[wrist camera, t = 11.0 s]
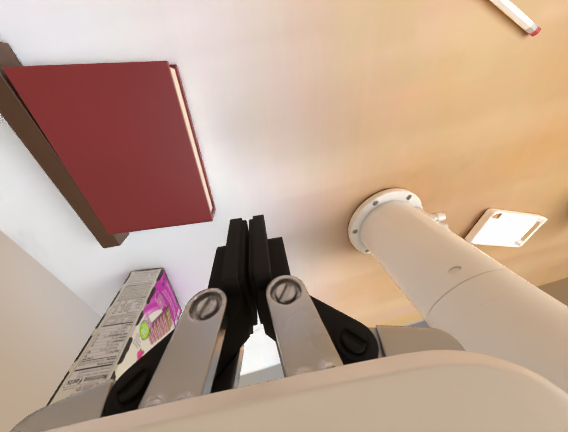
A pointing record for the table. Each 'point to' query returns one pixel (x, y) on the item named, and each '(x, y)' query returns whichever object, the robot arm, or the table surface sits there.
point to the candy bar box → (124, 332)
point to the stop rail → (46, 151)
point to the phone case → (503, 228)
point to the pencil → (517, 16)
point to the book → (122, 140)
